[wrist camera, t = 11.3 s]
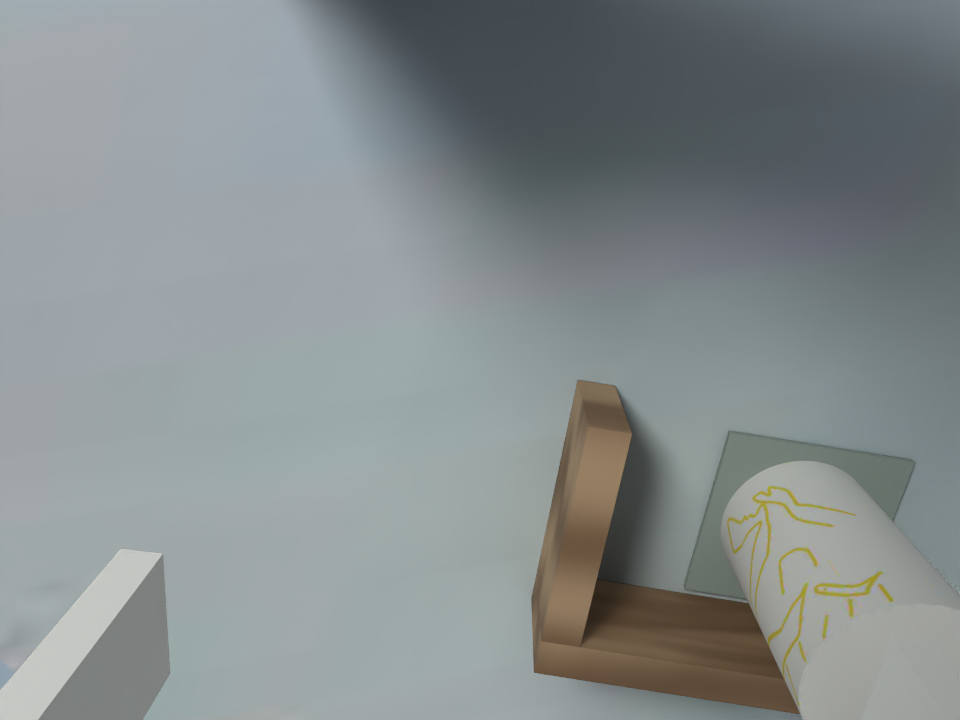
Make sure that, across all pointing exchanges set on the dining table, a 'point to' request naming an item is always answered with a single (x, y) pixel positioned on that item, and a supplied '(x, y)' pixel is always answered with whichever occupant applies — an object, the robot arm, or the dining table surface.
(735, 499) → the cup
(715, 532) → the pad
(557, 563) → the brown wooden l-shaped wall
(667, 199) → the dining table surface
